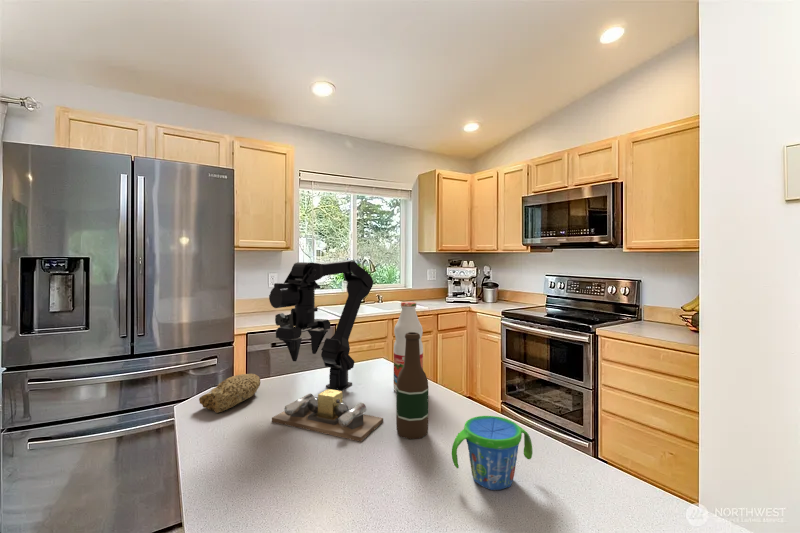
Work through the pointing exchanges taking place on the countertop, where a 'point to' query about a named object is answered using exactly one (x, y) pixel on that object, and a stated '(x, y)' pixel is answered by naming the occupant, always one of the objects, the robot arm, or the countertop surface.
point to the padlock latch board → (330, 424)
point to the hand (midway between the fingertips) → (304, 357)
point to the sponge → (230, 392)
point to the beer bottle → (412, 393)
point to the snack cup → (492, 449)
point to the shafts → (340, 409)
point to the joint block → (329, 403)
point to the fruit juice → (404, 325)
